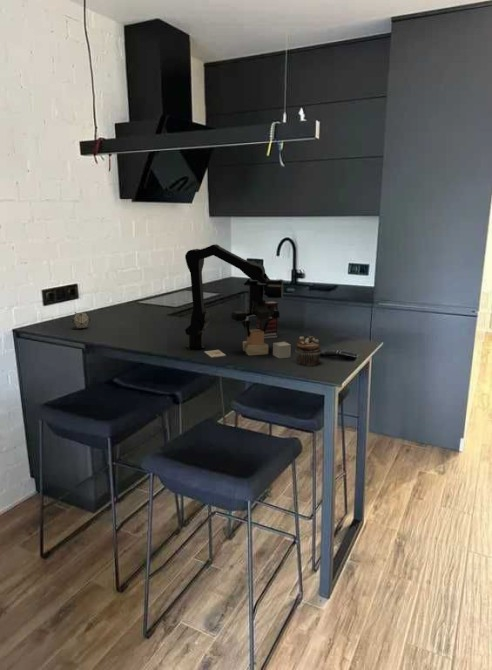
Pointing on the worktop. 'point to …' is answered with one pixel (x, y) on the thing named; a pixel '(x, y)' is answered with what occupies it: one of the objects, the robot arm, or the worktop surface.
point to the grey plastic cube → (281, 349)
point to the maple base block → (255, 348)
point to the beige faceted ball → (81, 320)
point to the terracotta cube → (256, 337)
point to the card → (214, 353)
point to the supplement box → (272, 326)
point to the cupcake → (308, 351)
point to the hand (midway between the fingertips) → (255, 336)
